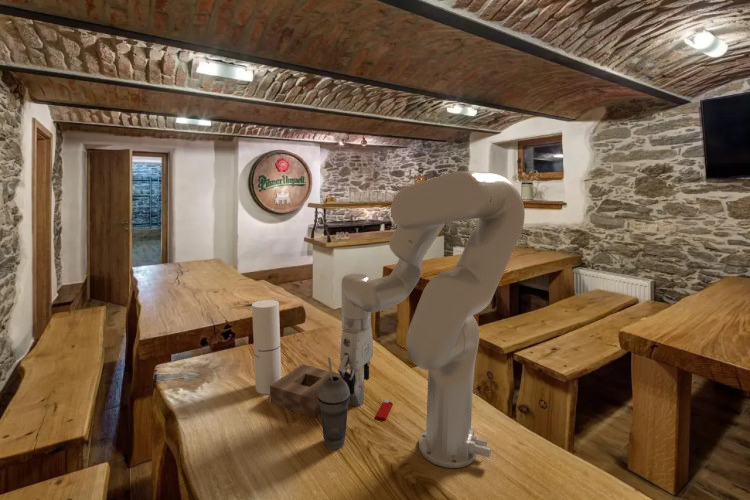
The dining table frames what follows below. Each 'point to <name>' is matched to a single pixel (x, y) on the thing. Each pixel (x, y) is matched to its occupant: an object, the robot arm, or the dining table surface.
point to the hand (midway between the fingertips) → (356, 384)
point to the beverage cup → (334, 410)
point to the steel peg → (357, 387)
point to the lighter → (384, 410)
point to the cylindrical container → (266, 344)
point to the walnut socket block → (300, 389)
